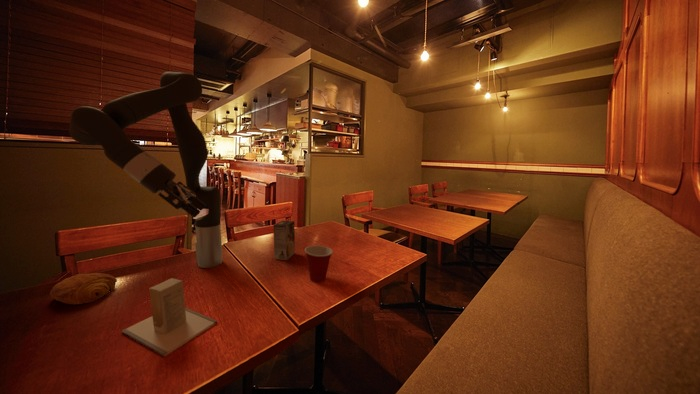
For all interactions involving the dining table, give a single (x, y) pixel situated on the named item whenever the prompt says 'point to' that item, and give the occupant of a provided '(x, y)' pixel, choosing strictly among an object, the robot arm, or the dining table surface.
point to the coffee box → (284, 240)
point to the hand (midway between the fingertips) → (200, 211)
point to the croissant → (83, 288)
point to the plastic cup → (318, 262)
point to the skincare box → (167, 305)
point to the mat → (172, 339)
